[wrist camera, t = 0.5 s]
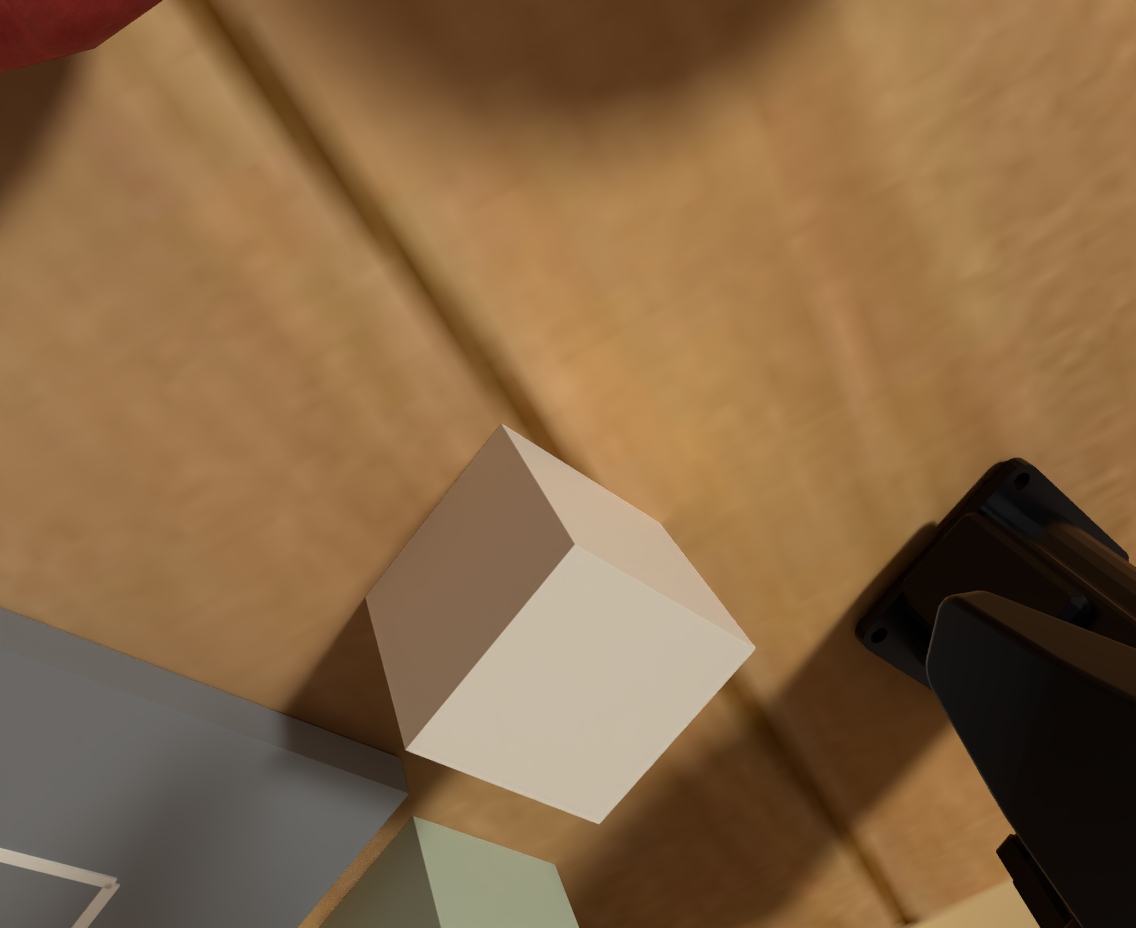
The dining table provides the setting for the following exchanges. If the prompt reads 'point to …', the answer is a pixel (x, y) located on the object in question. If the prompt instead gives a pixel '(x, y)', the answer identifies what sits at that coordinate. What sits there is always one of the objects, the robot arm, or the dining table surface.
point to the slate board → (167, 795)
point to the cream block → (547, 633)
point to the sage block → (453, 886)
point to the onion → (60, 27)
